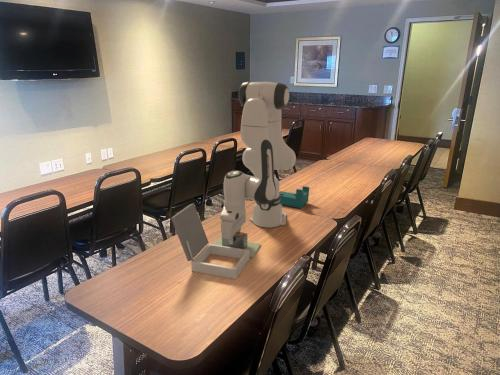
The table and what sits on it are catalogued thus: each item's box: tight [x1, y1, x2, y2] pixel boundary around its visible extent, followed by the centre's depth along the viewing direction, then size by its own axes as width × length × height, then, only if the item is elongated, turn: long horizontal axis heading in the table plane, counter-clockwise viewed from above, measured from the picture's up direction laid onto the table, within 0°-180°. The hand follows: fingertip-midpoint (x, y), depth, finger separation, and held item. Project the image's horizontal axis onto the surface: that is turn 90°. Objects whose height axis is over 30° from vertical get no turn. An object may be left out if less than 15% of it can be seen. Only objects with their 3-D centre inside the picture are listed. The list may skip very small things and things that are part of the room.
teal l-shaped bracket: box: [279, 185, 310, 209], centre depth 207 cm, size 18×11×10 cm, turn 59°
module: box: [221, 231, 248, 249], centre depth 153 cm, size 4×10×6 cm, turn 69°
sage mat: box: [212, 237, 262, 259], centre depth 154 cm, size 12×20×1 cm, turn 72°
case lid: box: [170, 202, 210, 262], centre depth 140 cm, size 16×18×2 cm
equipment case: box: [186, 241, 250, 280], centre depth 139 cm, size 16×20×12 cm
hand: (234, 239), depth 153 cm, fingers open, 6 cm apart
